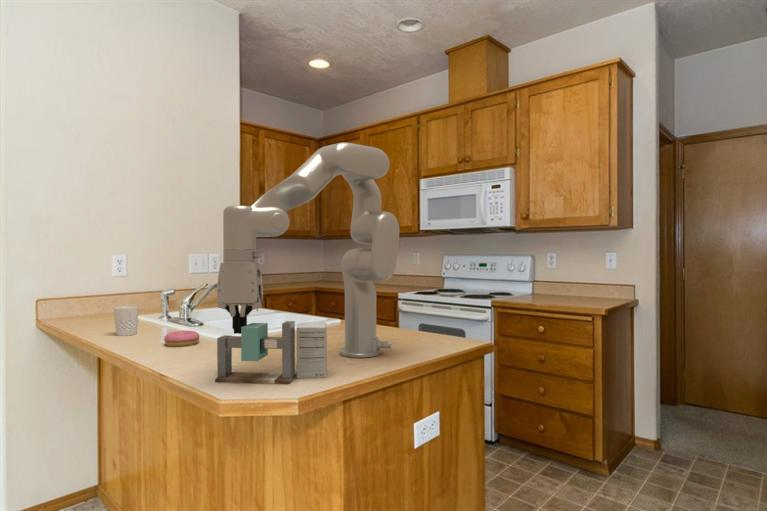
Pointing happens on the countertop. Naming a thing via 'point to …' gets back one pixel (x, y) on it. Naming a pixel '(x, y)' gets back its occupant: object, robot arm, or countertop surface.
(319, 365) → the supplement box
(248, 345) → the teal sliding block
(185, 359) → the countertop surface
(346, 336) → the robot arm
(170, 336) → the doughnut
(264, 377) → the board
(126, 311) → the white cup
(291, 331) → the rail
